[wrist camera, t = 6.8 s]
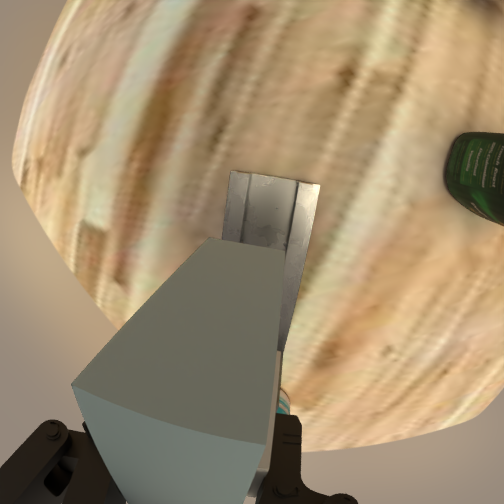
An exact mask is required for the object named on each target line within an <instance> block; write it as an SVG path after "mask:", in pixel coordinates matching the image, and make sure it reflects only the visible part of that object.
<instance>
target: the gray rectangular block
mask: <svg viewBox="0 0 504 504" xmlns="http://www.w3.org/2000/svg"><path fill="white" fill-rule="evenodd" d="M284 262H285V251H283V250H277V249H272V248H266V247H260V246H255V245H249V244H244V243H238V242H232V241H227V240H221V239H215V238H208V239H207V240H206V241H205V242H204V243H203V244H202V245H201V246H200V247H199V248H198V249H197V250H196V251H195V252H194V253H193V254H192V255H191V256H190V257H189V258H188V259H187V260H186V261H185V262H184V263H183V264H182V265H181V266H180V267H179V268H178V269H177V270H176V271H175V272H174V273H173V274H172V275H171V276H170V277H169V278H168V279H167V280H166V281H165V282H164V283H163V284H162V286H161V287H160V288H159V289H158V290H157V291H156V292H155V293H154V294H153V295H152V296H151V297H150V298H149V299H148V300H147V301H146V302H145V303H144V304H143V305H142V306H141V307H140V309H139V310H138V311H137V312H136V313H135V314H134V315H133V316H132V317H131V318H130V319H129V320H128V321H127V322H126V323H125V325H124V326H123V327H122V328H121V329H120V330H119V331H118V332H117V333H116V334H115V335H114V336H113V338H112V339H111V340H110V341H109V342H108V343H107V344H106V345H105V346H104V348H103V349H102V350H101V351H100V352H99V353H98V354H97V355H96V357H94V359H93V360H92V361H91V362H90V363H89V364H88V365H87V366H86V368H85V369H84V370H83V371H82V372H81V373H80V374H79V376H78V377H77V378H76V379H75V380H74V381H73V382H72V384H71V386H72V389H73V391H74V394H75V397H76V399H77V402H78V405H79V408H80V410H81V413H82V415H83V417H84V420H85V422H86V425H87V427H88V429H89V432H90V434H91V436H92V438H93V440H94V443H95V445H96V447H97V449H98V451H99V453H100V455H101V457H102V459H103V461H104V463H105V465H106V467H107V468H108V470H109V472H110V474H111V476H112V478H113V479H114V481H115V483H116V485H117V486H118V488H119V490H120V491H121V493H122V495H123V496H124V498H125V499H126V501H127V503H128V504H243V502H244V500H245V497H246V495H247V493H248V490H249V488H250V485H251V483H252V480H253V478H254V475H255V473H256V470H257V468H258V465H259V463H260V460H261V457H262V455H263V452H264V449H265V447H266V442H267V434H268V426H269V418H270V410H271V401H272V392H273V383H274V374H275V364H276V355H277V345H278V334H279V323H280V312H281V300H282V288H283V275H284Z"/></svg>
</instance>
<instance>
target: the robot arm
mask: <svg viewBox="0 0 504 504" xmlns="http://www.w3.org/2000/svg"><path fill="white" fill-rule="evenodd" d="M280 357H281V351H277V355H276V364H275V374H274V383H273V392H272V401H271V410H270V418H269V426H268V434H267V442H266V447H265V449H264V452H263V455H262V457H261V460H260V463H259V465H258V468H257V470H256V473H255V475H254V478H253V480H252V483H251V485H250V488H249V490H248V493H247V495H246V496H249V497H256V496H257V497H256V503H255V504H358V502H357V500H356V499H355V498H354V497H352V496H350V495H348V494H341V493H339V494H335V495H332V496H327V495H324V494H320V493H317V492H315V491H312V490H310V489H309V488H308V487H306V486H305V484H304V483H303V481H302V479H301V443H302V438H301V436H302V425H301V423H300V421H299V419H298V417H297V416H296V415H288V414H281V413H275V412H276V402H277V392H278V380H279V369H280ZM82 425H83V428H84V430H85V432H86V433H84V432H78V431H73V430H68V429H67V427H66V426H65V425H64V424H63V423H62V422H60V421H58V420H48V421H45V422H43V423H42V424H41V425H40V426H39V427H38V428H37V429H36V430H35V431H34V432H33V433H32V434H31V435H30V436H29V437H28V438H27V440H26V441H25V442H24V443H23V444H22V445H21V446H20V447H19V448H18V449H17V450H16V451H15V452H14V453H13V455H12V456H11V457H10V458H9V459H8V460H7V461H6V462H5V463H4V464H3V465H2V467H1V468H0V504H126V499H125V498H124V496H123V495H122V493H121V491H120V490H119V488H118V486H117V485H116V483H115V481H114V479H113V478H112V476H111V474H110V472H109V470H108V468H107V467H106V465H105V463H104V461H103V459H102V457H101V455H100V453H99V451H98V449H97V447H96V445H95V443H94V440H93V438H92V436H91V434H90V432H89V429H88V427H87V425H86V422H85V421H84V422H83V424H82Z"/></svg>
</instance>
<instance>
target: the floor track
mask: <svg viewBox="0 0 504 504" xmlns="http://www.w3.org/2000/svg"><path fill="white" fill-rule="evenodd" d="M319 189H320V185H318V184H313V183H308V182H302V181H297V180H291V179H286V178H280V177H274V176H268V175H261V174H255V173H248V172H241V171H234V170H231V172H230V179H229V187H228V194H227V202H226V210H225V218H224V226H223V234H222V240H227V241H232V242H238V243H244V244H249V245H255V246H260V247H266V248H272V249H277V250H283V251H285V262H284V275H283V288H282V300H281V312H280V323H279V334H278V345H277V351H281V357H280V369H279V380H278V392H277V402H276V412H275V413H277V410H278V407H279V398H280V386H281V374H282V361H283V351H284V348H285V344H286V340H287V336H288V332H289V328H290V324H291V320H292V316H293V312H294V308H295V304H296V299H297V295H298V291H299V286H300V282H301V278H302V273H303V269H304V264H305V259H306V255H307V250H308V245H309V240H310V236H311V231H312V226H313V221H314V215H315V210H316V205H317V200H318V194H319Z"/></svg>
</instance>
